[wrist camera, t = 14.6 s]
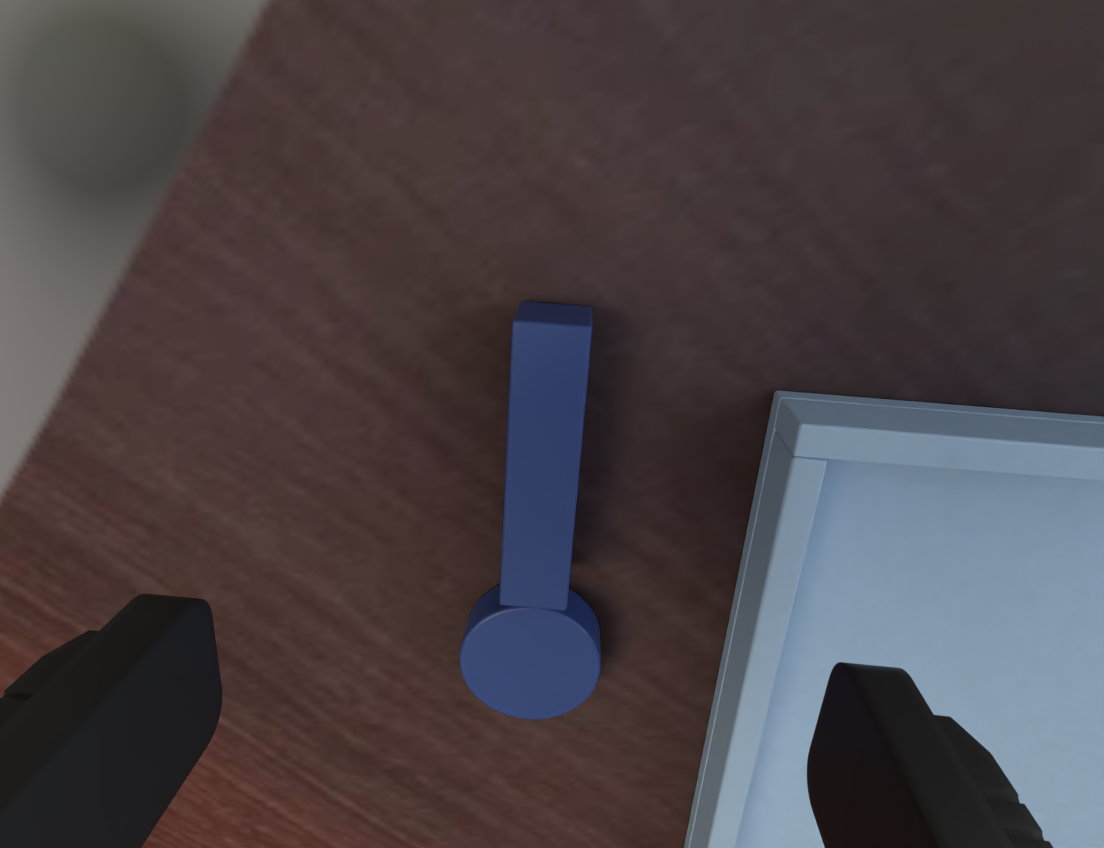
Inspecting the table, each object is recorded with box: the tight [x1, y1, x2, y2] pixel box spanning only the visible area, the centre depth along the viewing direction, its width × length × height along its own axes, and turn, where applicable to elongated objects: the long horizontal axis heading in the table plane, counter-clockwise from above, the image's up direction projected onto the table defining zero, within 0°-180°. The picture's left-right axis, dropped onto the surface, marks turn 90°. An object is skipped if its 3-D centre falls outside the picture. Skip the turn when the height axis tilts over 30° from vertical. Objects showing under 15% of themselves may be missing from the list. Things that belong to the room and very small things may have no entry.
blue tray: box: [684, 391, 1104, 848], centre depth 17 cm, size 17×14×2 cm
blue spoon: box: [459, 301, 601, 719], centre depth 16 cm, size 10×3×2 cm, turn 176°
